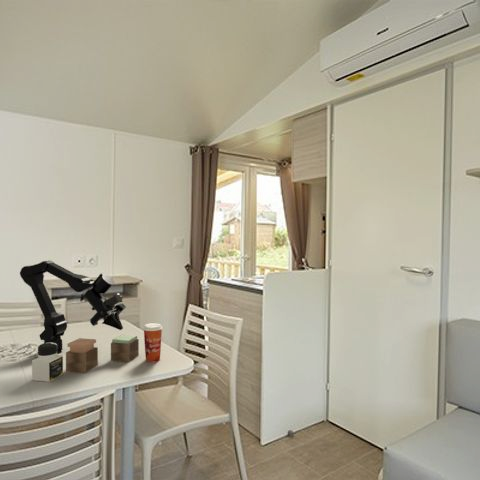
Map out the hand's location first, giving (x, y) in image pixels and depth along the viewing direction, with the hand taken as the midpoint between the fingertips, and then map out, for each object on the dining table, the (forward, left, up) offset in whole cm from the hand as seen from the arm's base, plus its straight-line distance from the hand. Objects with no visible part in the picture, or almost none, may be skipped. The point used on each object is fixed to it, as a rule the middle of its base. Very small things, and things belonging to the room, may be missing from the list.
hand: (122, 329), depth 156 cm
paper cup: (+10, -9, -12) cm, 18 cm away
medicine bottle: (-28, -7, -12) cm, 31 cm away
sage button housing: (+1, -1, -12) cm, 12 cm away
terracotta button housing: (-16, -4, -12) cm, 20 cm away
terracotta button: (-16, -4, -9) cm, 19 cm away
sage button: (+1, -1, -11) cm, 11 cm away
